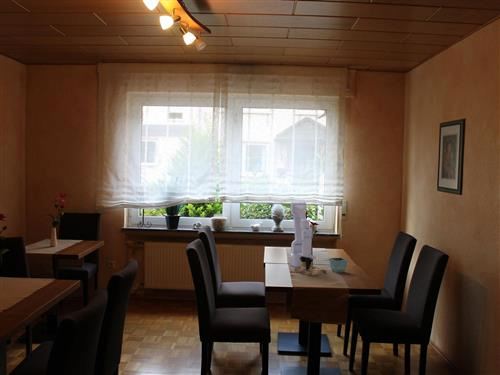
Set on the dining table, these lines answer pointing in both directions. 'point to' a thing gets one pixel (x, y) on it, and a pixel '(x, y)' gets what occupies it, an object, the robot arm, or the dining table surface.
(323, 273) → the rack
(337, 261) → the flower pot
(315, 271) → the offcut board upper
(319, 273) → the offcut board lower
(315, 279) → the dining table surface
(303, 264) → the tall block
